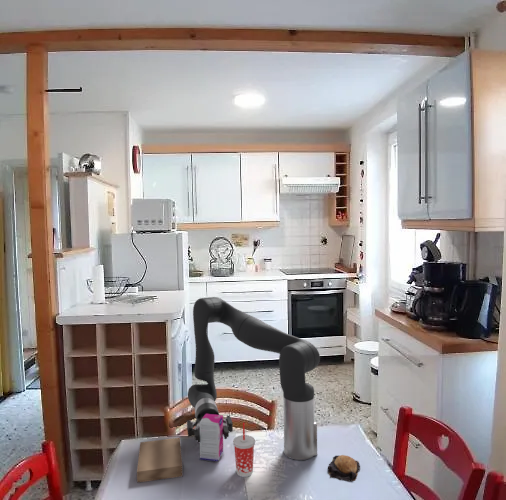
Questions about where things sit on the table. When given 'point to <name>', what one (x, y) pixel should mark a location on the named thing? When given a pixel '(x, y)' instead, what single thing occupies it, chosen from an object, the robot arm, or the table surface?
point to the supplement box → (211, 437)
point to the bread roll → (344, 468)
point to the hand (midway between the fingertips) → (212, 437)
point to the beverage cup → (244, 453)
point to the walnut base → (159, 460)
